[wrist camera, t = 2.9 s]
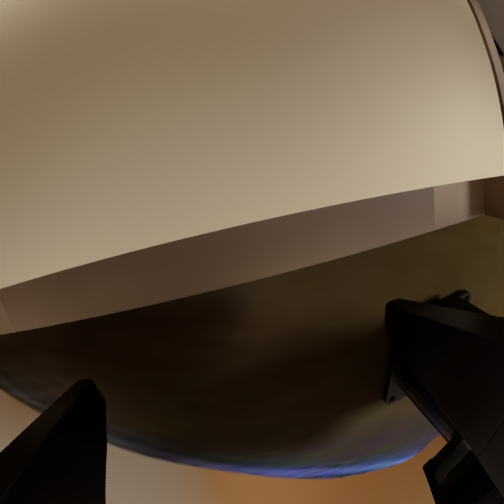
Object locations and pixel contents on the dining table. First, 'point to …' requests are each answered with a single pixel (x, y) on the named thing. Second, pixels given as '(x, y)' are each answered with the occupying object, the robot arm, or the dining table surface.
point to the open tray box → (251, 246)
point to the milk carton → (494, 19)
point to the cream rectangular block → (226, 116)
